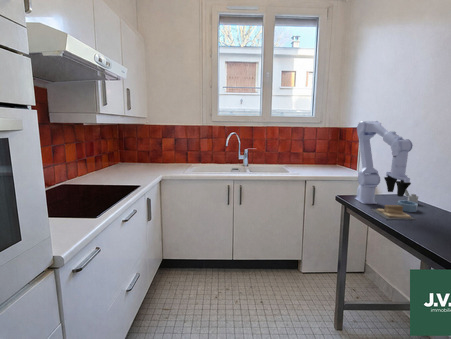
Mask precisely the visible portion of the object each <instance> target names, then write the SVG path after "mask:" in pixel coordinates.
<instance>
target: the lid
mask: <svg viewBox="0 0 451 339" xmlns="http://www.w3.org/2000/svg"><path fill="white" fill-rule="evenodd" d="M376 209H377V211H379V212H380V213H382V214H384V215H385V216H387V217H390V218H411V217H412V216H411V215H410V214H407V212H405V211H403V206H401V205H397V204H384V208H376Z"/></svg>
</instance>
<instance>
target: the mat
mask: <svg viewBox="0 0 451 339" xmlns="http://www.w3.org/2000/svg"><path fill="white" fill-rule="evenodd" d="M377 209H378V208H371V210H370V211H372V212H374V213H375V214H377V215H378V216H380V217H382V218H383V219H385V220H392V221H393V220H394V221H395V220H398V221H400V220H401V221H402V220H405V221H407V220H408V221H409V220H411V221H416V220H417V219H416V218H415V217H412V216H411V218H390V217H387V216H385V215H384V214H382V213H380V212H379V211H377Z"/></svg>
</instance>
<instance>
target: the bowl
mask: <svg viewBox="0 0 451 339" xmlns="http://www.w3.org/2000/svg"><path fill="white" fill-rule="evenodd" d="M396 205H401V206H403V211H402V212H405V213H416V212H418V205H419V204H418V203H415V202H412V201H408V200H406V199H405V200H402V199H401V200H400V199H399V200H397V203H396Z"/></svg>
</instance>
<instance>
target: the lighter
mask: <svg viewBox="0 0 451 339" xmlns="http://www.w3.org/2000/svg"><path fill="white" fill-rule="evenodd" d="M404 195H405V197H406V198H407V201H412V202H415V203H417V204H418V203H419V202H418V201H419V196H418V195H417V193H410V194H409V191H408V188H407V189H406V191H405V193H404Z"/></svg>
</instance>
